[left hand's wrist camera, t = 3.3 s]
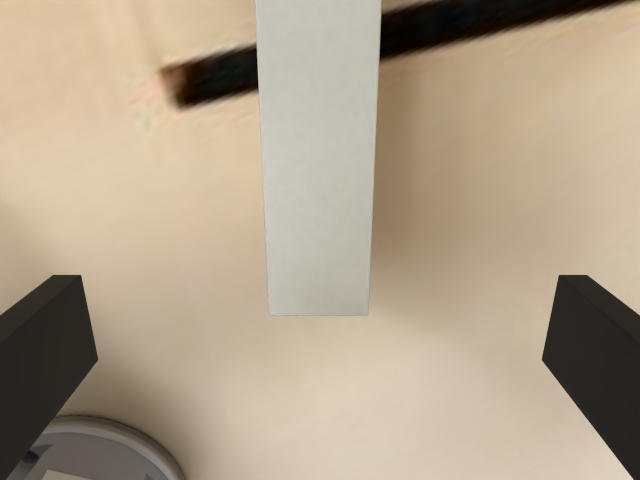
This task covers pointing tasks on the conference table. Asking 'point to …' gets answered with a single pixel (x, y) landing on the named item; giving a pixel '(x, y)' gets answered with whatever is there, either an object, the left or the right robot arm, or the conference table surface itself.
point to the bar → (318, 151)
